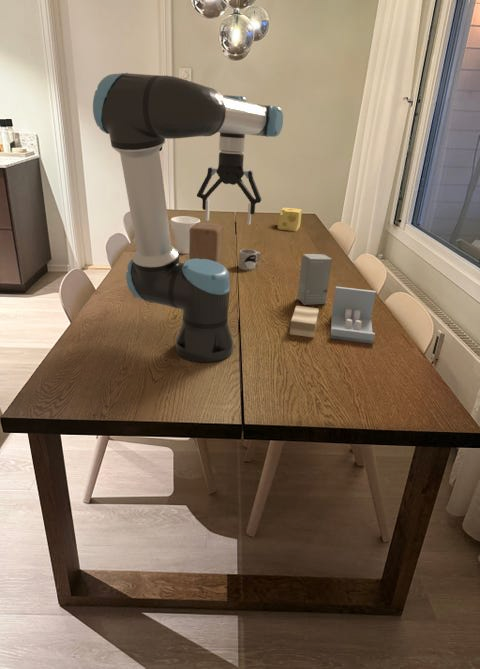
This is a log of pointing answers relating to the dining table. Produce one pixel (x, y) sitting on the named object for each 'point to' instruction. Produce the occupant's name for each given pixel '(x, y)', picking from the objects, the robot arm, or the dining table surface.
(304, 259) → the skincare box
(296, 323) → the slab
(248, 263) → the mug
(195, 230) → the wooden block
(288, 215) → the cheese
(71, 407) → the dining table surface
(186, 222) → the cup
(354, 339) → the cradle
